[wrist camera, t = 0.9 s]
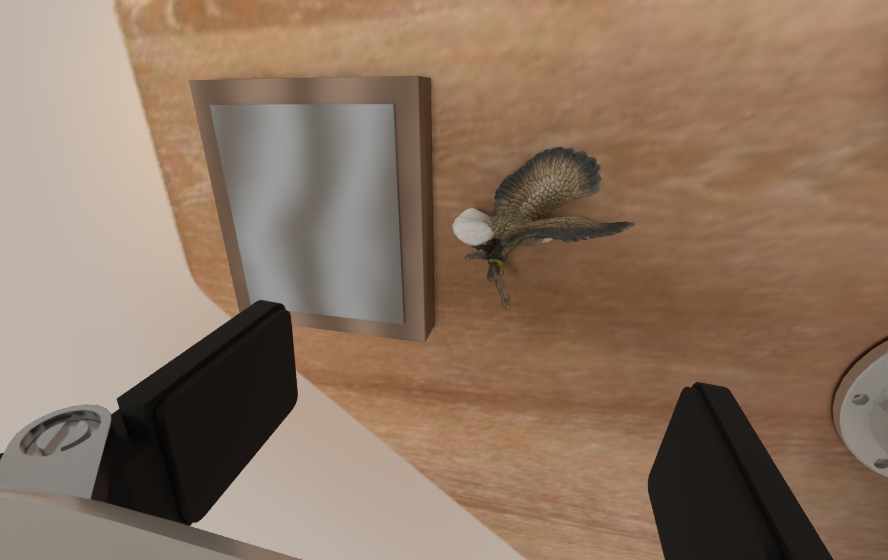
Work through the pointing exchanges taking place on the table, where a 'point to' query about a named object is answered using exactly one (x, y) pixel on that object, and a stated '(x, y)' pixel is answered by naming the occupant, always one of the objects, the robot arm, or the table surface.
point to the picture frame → (326, 197)
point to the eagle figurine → (534, 210)
